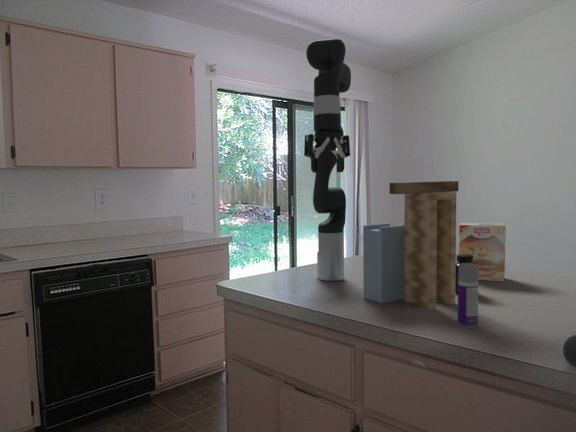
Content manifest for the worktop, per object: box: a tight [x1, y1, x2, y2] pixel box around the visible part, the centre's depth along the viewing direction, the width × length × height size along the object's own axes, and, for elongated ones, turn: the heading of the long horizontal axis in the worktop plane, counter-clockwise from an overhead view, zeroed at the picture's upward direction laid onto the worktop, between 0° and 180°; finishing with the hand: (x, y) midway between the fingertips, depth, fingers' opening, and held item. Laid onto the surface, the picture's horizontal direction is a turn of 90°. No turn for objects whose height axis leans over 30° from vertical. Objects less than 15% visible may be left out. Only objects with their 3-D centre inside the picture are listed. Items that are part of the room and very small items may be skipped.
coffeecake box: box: [458, 222, 507, 282], centre depth 161 cm, size 15×7×20 cm, turn 68°
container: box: [457, 263, 480, 329], centre depth 111 cm, size 5×5×15 cm
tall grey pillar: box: [362, 222, 405, 305], centre depth 137 cm, size 8×10×22 cm
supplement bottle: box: [455, 253, 473, 295], centre depth 141 cm, size 7×7×12 cm
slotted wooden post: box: [403, 191, 457, 310], centre depth 131 cm, size 10×10×32 cm
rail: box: [389, 180, 460, 195], centre depth 128 cm, size 4×24×3 cm, turn 121°
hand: (327, 172), depth 127 cm, fingers open, 8 cm apart
